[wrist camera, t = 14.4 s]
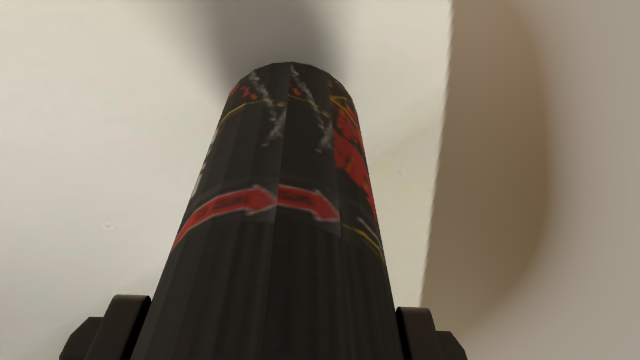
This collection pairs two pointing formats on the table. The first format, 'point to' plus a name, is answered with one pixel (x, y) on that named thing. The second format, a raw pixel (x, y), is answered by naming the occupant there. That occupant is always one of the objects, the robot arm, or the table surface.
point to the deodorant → (278, 235)
